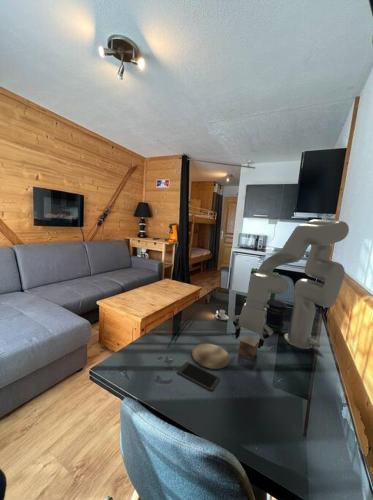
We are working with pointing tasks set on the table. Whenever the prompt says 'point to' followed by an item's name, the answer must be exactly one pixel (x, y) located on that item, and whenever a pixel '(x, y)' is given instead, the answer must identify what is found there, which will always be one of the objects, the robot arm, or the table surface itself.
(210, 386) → the cell phone
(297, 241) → the robot arm
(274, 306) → the storage jar
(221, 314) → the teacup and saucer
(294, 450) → the table surface
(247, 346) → the walnut cube
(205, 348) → the plate
